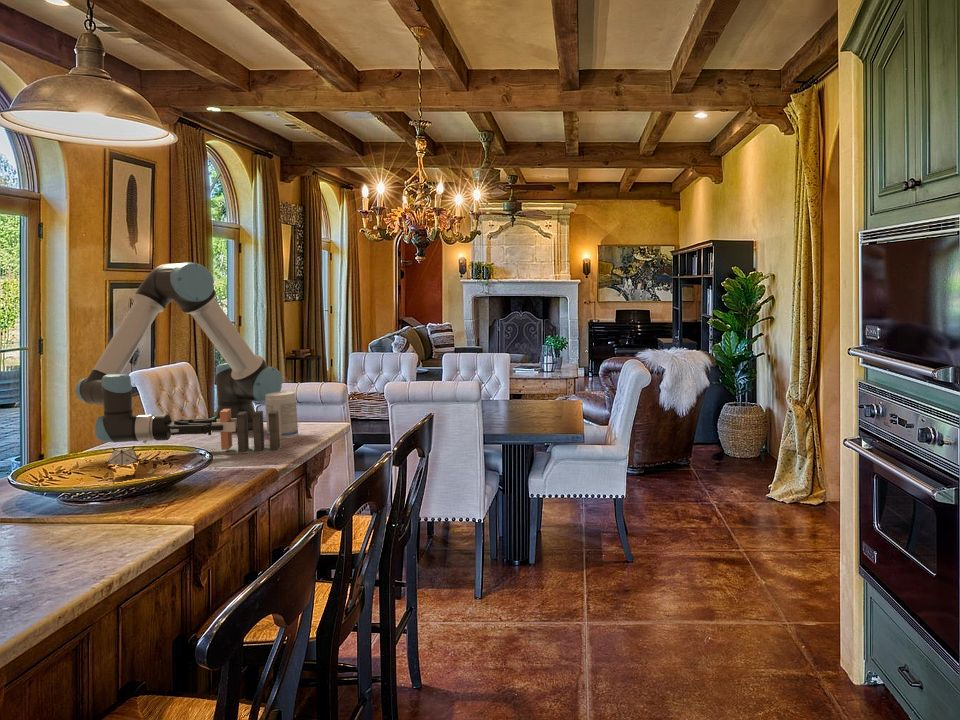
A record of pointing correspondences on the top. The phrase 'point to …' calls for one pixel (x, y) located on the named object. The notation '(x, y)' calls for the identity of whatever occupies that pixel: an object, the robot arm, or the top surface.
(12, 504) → the top surface
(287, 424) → the supplement tub
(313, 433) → the top surface
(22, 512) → the top surface
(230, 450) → the runner board
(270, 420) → the domino
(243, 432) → the domino
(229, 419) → the domino
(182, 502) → the top surface
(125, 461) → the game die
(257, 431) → the domino
